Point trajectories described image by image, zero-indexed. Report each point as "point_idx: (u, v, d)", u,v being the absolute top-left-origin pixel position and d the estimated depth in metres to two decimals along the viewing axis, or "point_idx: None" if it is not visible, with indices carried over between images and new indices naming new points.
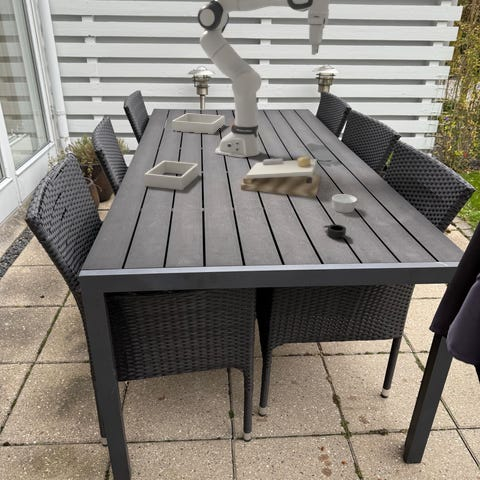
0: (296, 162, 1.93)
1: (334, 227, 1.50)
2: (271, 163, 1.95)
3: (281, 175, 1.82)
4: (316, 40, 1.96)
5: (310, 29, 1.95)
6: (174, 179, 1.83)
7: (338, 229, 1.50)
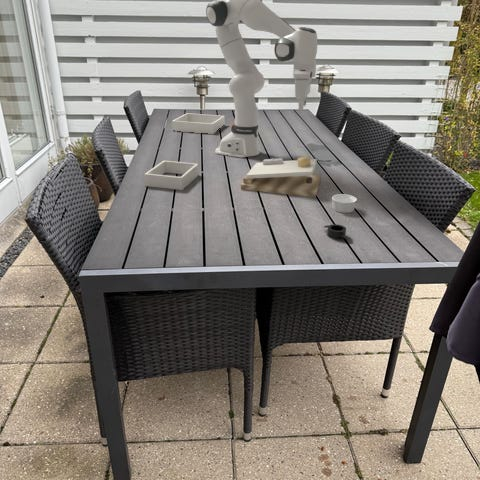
0: (296, 162, 1.93)
1: (334, 227, 1.50)
2: (271, 163, 1.95)
3: (281, 175, 1.82)
4: (303, 96, 1.80)
5: (296, 84, 1.79)
6: (174, 179, 1.83)
7: (338, 229, 1.50)
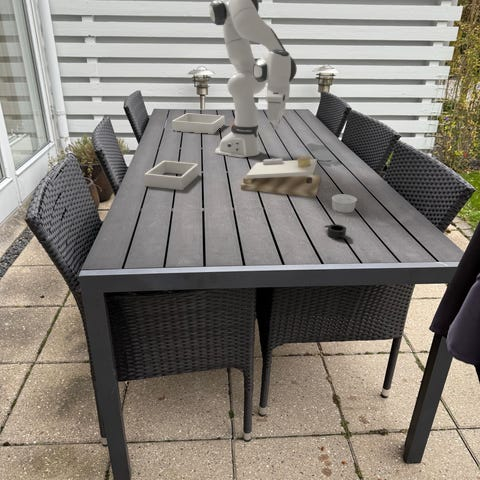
0: (296, 162, 1.93)
1: (334, 227, 1.50)
2: (271, 163, 1.95)
3: (281, 175, 1.82)
4: (275, 119, 1.78)
5: (268, 107, 1.78)
6: (174, 179, 1.83)
7: (338, 229, 1.50)
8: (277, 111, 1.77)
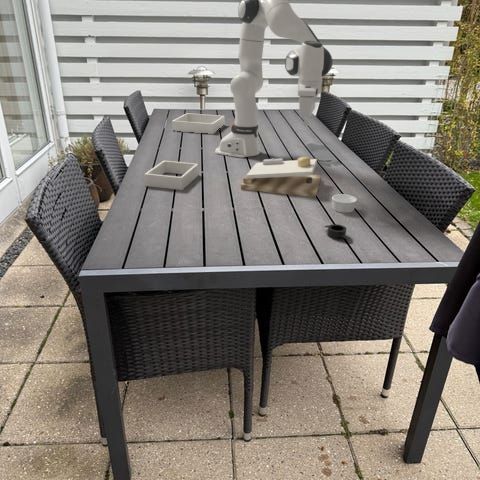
0: (296, 162, 1.93)
1: (334, 227, 1.50)
2: (271, 163, 1.95)
3: (281, 175, 1.82)
4: (307, 114, 1.69)
5: (300, 102, 1.68)
6: (174, 179, 1.83)
7: (339, 229, 1.50)
8: (310, 106, 1.67)
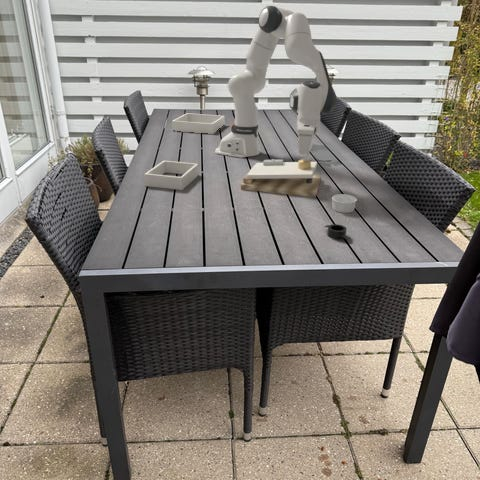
0: (296, 164, 1.93)
1: (334, 226, 1.50)
2: (271, 164, 1.95)
3: (281, 177, 1.82)
4: (306, 152, 1.75)
5: (299, 140, 1.74)
6: (174, 179, 1.83)
7: (339, 229, 1.50)
8: (308, 144, 1.73)
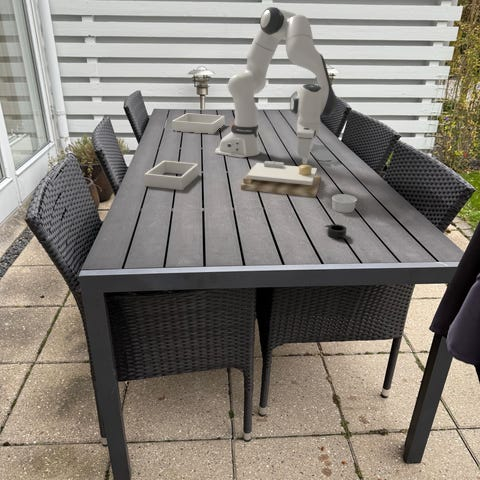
0: (297, 169, 1.94)
1: (334, 226, 1.50)
2: (272, 166, 1.95)
3: (281, 180, 1.83)
4: (306, 155, 1.75)
5: (299, 143, 1.74)
6: (174, 179, 1.83)
7: (339, 229, 1.50)
8: (308, 147, 1.74)
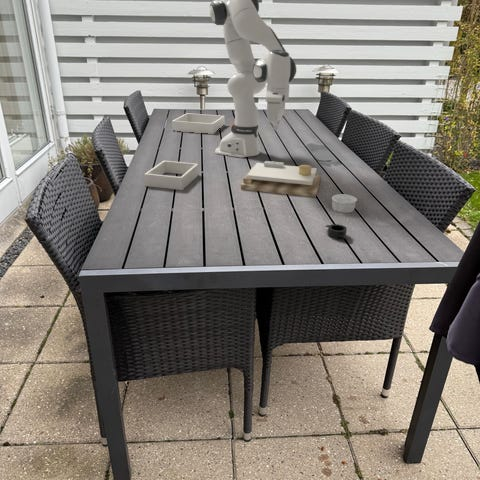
0: (297, 169, 1.94)
1: (335, 226, 1.50)
2: (272, 166, 1.95)
3: (281, 180, 1.83)
4: (275, 119, 1.78)
5: (268, 107, 1.78)
6: (174, 179, 1.83)
7: (339, 229, 1.50)
8: (277, 111, 1.77)
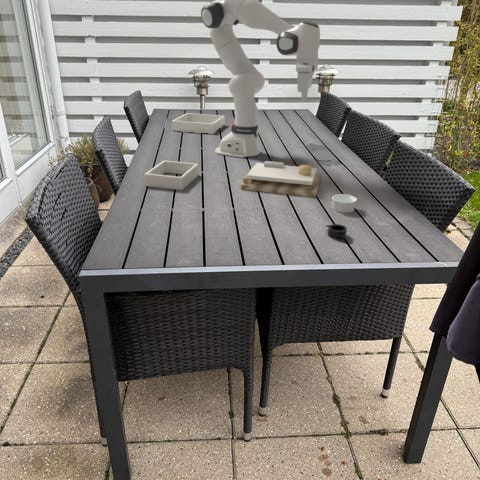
0: (297, 169, 1.94)
1: (335, 226, 1.50)
2: (272, 166, 1.95)
3: (281, 180, 1.83)
4: (305, 89, 1.84)
5: (298, 77, 1.83)
6: (174, 179, 1.83)
7: (339, 229, 1.50)
8: (307, 81, 1.83)
